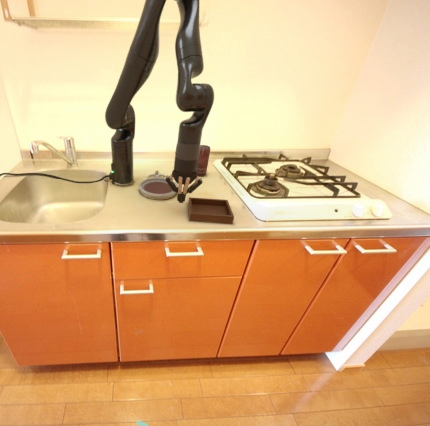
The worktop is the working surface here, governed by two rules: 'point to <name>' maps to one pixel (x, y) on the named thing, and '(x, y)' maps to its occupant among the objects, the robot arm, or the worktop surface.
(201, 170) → the can
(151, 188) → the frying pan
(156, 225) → the worktop surface
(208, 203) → the tray
